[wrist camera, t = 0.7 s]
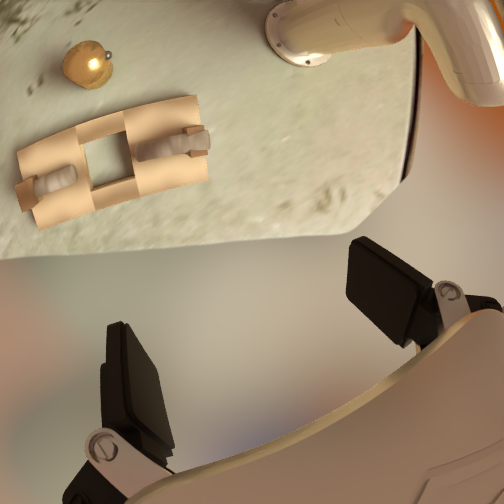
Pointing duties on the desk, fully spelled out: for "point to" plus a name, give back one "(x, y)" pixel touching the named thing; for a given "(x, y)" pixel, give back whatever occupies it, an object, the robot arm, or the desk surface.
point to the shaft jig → (142, 154)
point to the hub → (88, 65)
